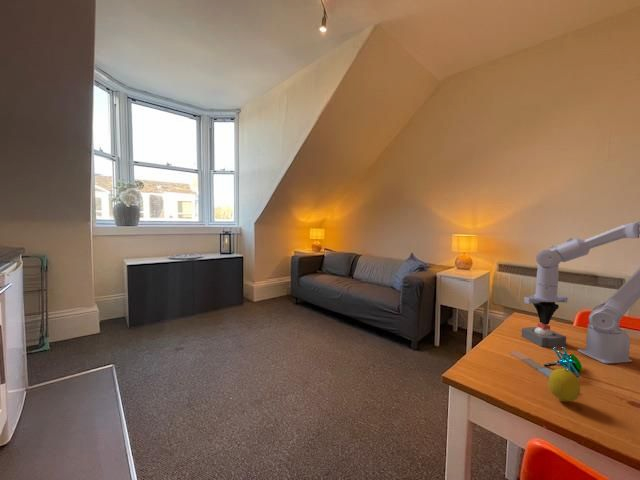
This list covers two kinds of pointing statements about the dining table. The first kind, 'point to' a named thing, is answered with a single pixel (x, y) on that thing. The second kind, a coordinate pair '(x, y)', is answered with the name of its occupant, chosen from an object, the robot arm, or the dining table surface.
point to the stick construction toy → (567, 362)
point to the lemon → (564, 385)
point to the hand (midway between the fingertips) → (544, 323)
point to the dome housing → (543, 338)
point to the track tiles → (531, 363)
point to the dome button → (543, 330)
